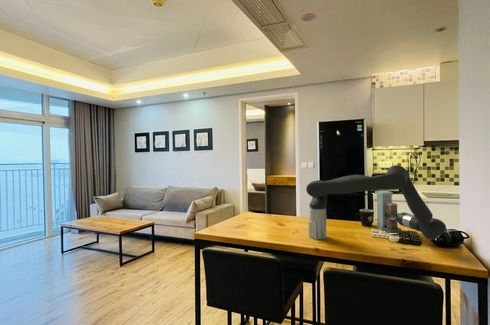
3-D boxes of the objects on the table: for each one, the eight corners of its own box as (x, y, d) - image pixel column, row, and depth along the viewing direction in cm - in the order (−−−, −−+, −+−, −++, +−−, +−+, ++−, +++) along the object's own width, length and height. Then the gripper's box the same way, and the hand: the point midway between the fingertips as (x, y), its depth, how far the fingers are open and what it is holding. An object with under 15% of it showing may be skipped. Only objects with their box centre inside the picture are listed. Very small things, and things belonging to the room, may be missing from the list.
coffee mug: (372, 223, 180) (372, 209, 179) (375, 227, 171) (375, 212, 171) (354, 223, 182) (353, 208, 182) (356, 226, 174) (355, 211, 174)
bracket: (401, 233, 157) (401, 228, 157) (390, 234, 156) (390, 229, 156) (393, 230, 164) (392, 225, 164) (382, 230, 164) (382, 226, 163)
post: (393, 230, 164) (392, 192, 163) (382, 231, 163) (382, 192, 162) (386, 227, 171) (385, 190, 170) (376, 228, 170) (375, 191, 169)
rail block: (397, 229, 158) (397, 203, 157) (391, 229, 157) (390, 204, 157) (393, 227, 162) (392, 202, 161) (387, 227, 161) (386, 203, 161)
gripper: (420, 213, 146) (399, 207, 163) (396, 214, 144) (377, 208, 161) (421, 226, 146) (399, 219, 163) (397, 228, 144) (378, 220, 162)
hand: (388, 214), depth 162 cm, fingers closed on rail block, 4 cm apart
